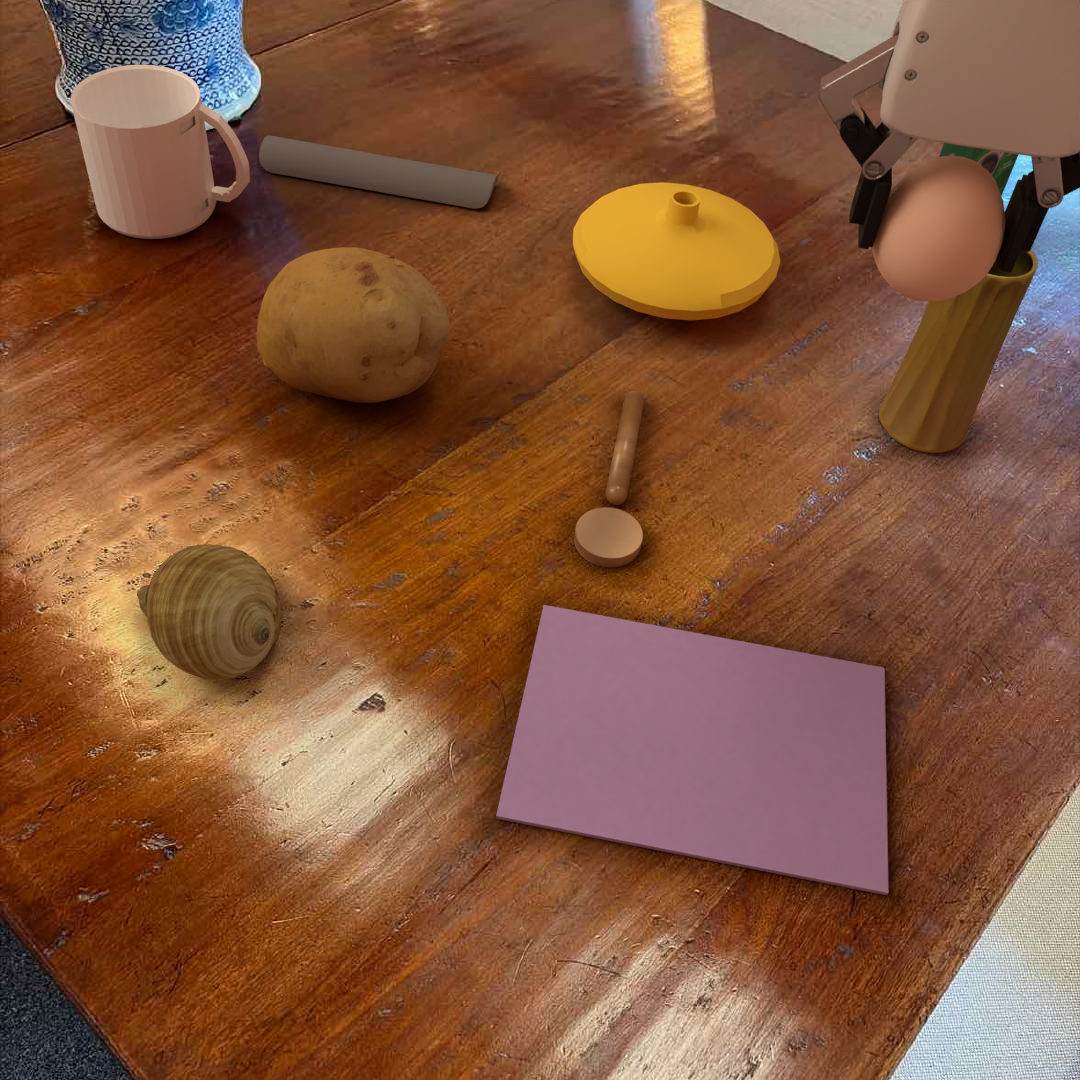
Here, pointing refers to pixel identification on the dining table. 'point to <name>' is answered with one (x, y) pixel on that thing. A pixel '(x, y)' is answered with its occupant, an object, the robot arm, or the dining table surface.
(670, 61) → the dining table surface
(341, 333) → the potato
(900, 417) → the vase
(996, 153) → the coffee box
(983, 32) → the robot arm
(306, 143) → the half round rod
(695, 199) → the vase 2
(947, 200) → the egg
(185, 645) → the seashell
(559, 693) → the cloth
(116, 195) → the mug
